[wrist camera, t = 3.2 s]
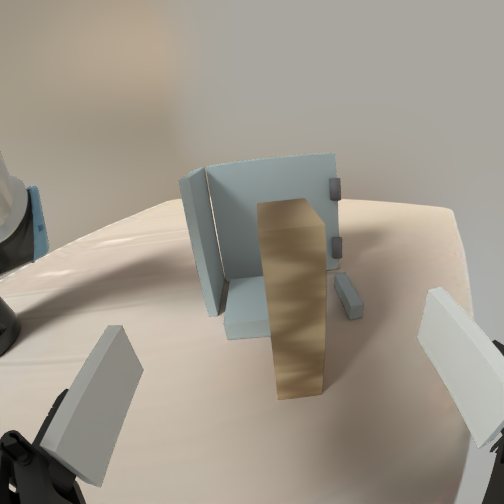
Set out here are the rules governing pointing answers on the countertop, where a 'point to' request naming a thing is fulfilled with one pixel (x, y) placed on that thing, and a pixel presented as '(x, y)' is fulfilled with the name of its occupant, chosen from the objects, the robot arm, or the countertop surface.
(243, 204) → the cabinet
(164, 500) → the countertop surface
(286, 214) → the door panel
